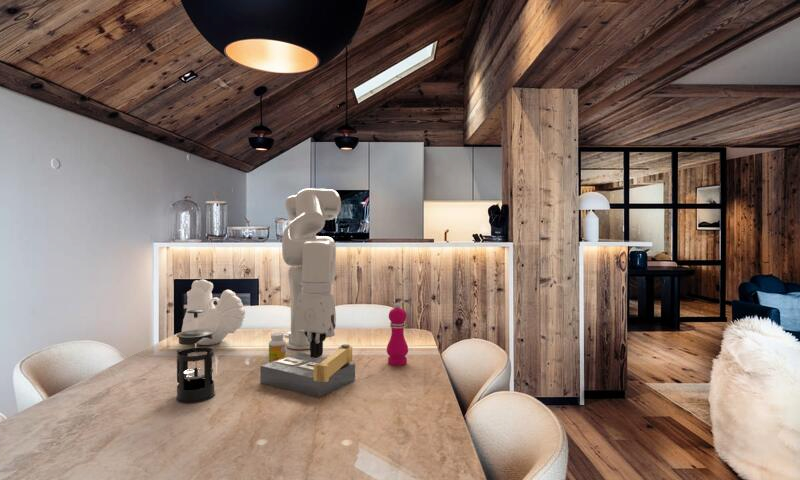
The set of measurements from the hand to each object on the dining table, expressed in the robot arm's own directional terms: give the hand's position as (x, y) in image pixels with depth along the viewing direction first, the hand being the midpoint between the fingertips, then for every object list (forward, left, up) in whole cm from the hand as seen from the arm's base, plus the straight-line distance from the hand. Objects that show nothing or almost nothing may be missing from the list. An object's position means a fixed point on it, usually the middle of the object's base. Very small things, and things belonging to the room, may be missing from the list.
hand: (316, 356), depth 115 cm
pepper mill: (+3, +36, -11) cm, 38 cm away
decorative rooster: (-70, +19, -11) cm, 73 cm away
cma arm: (+2, +6, -5) cm, 8 cm away
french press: (-28, -17, -11) cm, 34 cm away
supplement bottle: (-31, +15, -11) cm, 36 cm away
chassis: (-10, +7, -11) cm, 16 cm away
